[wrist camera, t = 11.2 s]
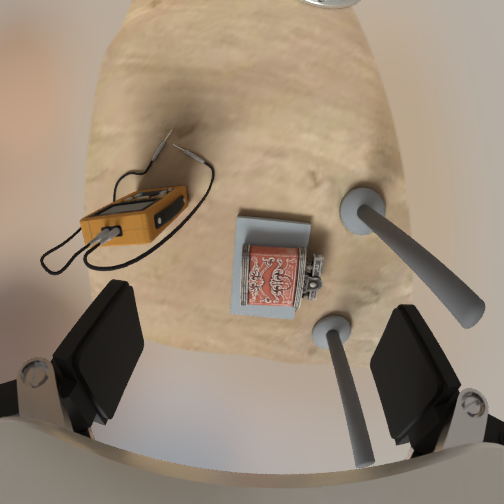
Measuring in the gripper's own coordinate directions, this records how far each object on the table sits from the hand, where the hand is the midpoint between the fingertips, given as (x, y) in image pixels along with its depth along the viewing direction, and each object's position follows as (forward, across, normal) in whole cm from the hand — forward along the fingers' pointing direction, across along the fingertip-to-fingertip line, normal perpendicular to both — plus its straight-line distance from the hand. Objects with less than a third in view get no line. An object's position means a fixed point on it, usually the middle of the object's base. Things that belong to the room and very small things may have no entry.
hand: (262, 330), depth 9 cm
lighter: (+22, +2, +11) cm, 25 cm away
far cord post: (+25, -12, +21) cm, 35 cm away
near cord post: (+26, -12, +2) cm, 28 cm away
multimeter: (+26, +14, -1) cm, 29 cm away
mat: (+25, -1, +12) cm, 28 cm away
